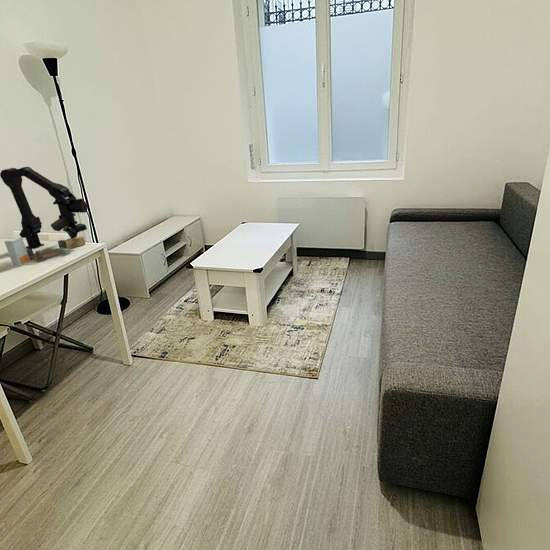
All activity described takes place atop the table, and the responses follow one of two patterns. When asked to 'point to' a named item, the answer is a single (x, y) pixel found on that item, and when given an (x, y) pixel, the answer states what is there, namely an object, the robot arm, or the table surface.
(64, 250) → the socket cleat
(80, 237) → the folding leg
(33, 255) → the stool seat
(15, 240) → the skincare box
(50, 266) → the table surface
